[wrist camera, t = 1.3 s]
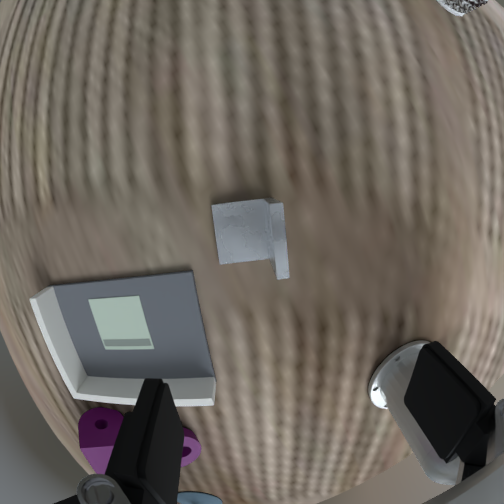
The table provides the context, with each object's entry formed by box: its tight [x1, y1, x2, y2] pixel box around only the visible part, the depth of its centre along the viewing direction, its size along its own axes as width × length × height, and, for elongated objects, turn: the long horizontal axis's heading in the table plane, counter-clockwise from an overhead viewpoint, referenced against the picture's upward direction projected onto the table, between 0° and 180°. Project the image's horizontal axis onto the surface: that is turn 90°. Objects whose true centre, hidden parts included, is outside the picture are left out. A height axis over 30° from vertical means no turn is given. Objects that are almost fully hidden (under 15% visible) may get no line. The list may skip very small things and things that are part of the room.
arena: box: [30, 270, 216, 406], centre depth 29 cm, size 20×15×5 cm
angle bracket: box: [211, 197, 289, 280], centre depth 25 cm, size 6×6×7 cm
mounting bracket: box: [78, 407, 201, 475], centre depth 34 cm, size 9×8×18 cm
